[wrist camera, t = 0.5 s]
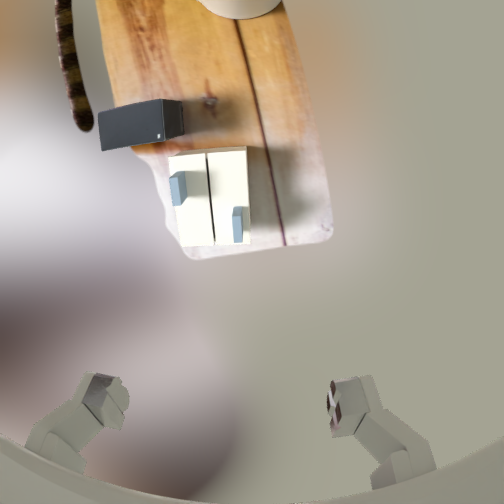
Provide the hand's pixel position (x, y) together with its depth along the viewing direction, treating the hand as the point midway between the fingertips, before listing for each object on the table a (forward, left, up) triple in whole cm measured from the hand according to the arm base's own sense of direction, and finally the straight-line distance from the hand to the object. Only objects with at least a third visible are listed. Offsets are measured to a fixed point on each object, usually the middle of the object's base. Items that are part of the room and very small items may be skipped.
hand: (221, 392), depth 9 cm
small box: (-9, -16, -42) cm, 46 cm away
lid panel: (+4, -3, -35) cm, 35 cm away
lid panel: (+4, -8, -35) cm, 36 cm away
